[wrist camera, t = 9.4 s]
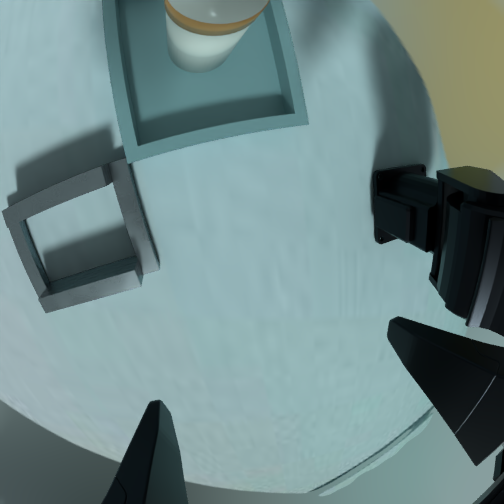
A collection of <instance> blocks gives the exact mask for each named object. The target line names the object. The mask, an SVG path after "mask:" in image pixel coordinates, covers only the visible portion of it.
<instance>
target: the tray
mask: <svg viewBox="0 0 504 504" xmlns="http://www.w3.org/2000/svg"><path fill="white" fill-rule="evenodd" d="M102 6H103V21H104V33H105V43H106V51H107V59H108V67H109V74H110V80H111V86H112V92H113V98H114V104H115V109H116V114H117V119H118V124H119V129H120V133H121V138H122V142H123V147H124V151H125V155H126V159H127V163H128V164H129V163H132V162H135V161H139V160H142V159H145V158H148V157H152V156H155V155H159V154H162V153H166V152H169V151H173V150H177V149H181V148H184V147H188V146H192V145H196V144H201V143H205V142H209V141H214V140H218V139H223V138H228V137H233V136H238V135H243V134H248V133H254V132H260V131H266V130H272V129H279V128H285V127H293V126H301V125H309V122H308V116H307V110H306V105H305V99H304V94H303V89H302V84H301V79H300V74H299V69H298V64H297V60H296V55H295V51H294V46H293V42H292V38H291V34H290V30H289V26H288V22H287V18H286V14H285V11H284V7H283V3H282V0H270V1H269V3H268V4H267V6H266V7H265V9H264V10H263V11H262V12H261V14H260V15H259V16H258V18H257V19H256V20H255V21H254V22H253V23H252V24H251V25H250V26H249V28H248V29H247V30H246V32H245V33H244V35H243V36H242V37H241V39H240V40H239V42H238V43H237V45H236V46H235V47H234V49H233V50H232V52H231V53H230V55H229V56H228V58H227V59H226V61H225V62H224V63H223V64H222V65H221V66H219V67H218V68H216V69H214V70H212V71H209V72H204V73H191V72H187V71H184V70H182V69H180V68H179V67H177V66H176V65H175V64H174V63H173V62H172V61H171V59H170V57H169V54H168V47H167V30H166V10H165V6H164V0H102Z"/></svg>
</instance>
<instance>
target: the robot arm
mask: <svg viewBox="0 0 504 504" xmlns="http://www.w3.org/2000/svg"><path fill="white" fill-rule="evenodd" d="M379 174H380V178H378V176H379ZM437 179H438V180H437ZM437 179H434V178H430V177H426V167H425V165H423V164H415V165H408V166H401V167H395V168H388V169H382V170H377V171H375V172H374V174H373V183H374V204H375V241H376V242H377V243H379V244H383V243H386V242H389V241H392V240H395V239H400V240H402V241H404V242H406V243H410V244H412V245H414V246H415V247H417V248H419V249H421V250H423V251H424V252H430V253H432V254H433V261H432V268H431V272H430V275H429V280H430V282H431V283H432V284H433V286H434V287H435V288H436V290H437V291H438V293H439V295H440V296H441V297H442V299H443V300H444V302H446V303H445V307H446V308H447V309H448V310H449V311H451V312H452V313H453V314H455V315H457V316H459V317H461V318H463V319H466V323H465V325H466V326H468V327H481V328H485V329H489V330H491V331H493V332H496V333H498V334H500V335H502V336H504V181H503V180H502V179H501V178H500V177H499V176H497V175H496V174H495V173H493V172H492V171H491V170H487V169H482V168H477V167H471V166H463V167H457V168H450V169H444V170H438V171H437ZM380 238H381V239H380ZM387 337H388V340H389V342H390V343H391V345H392V347H393V348H394V350H395V352H396V353H397V355H398V357H399V358H400V360H401V361H402V363H403V365H404V366H405V368H406V369H407V370H408V372H409V373H410V374H411V376H412V377H413V378H414V380H415V381H416V382H417V384H418V385H419V386H420V388H421V389H422V390H423V392H424V393H425V394H426V396H427V397H428V398H429V400H430V401H431V402H432V404H433V405H434V407H435V408H436V409H437V411H438V412H439V413H440V415H441V416H442V417H443V419H444V420H445V422H446V423H447V425H448V426H449V427H450V429H451V430H452V432H453V433H454V434H455V436H456V438H457V439H458V441H459V442H460V444H461V445H462V447H463V448H464V450H465V451H466V453H467V454H468V456H469V457H470V459H471V460H472V462H473V463H474V465H475V466H478V465H479V464H480V463H481V462H482V461H483V460H485V459H486V458H487V457H488V456H489V455H490V454H491V453H493V452H494V451H495V450H496V449H497V448H498V447H499V446H500V445H502V446H503V447H504V347H500V346H496V345H491V344H487V343H483V342H480V341H476V340H473V339H472V340H471V339H469V338H466V337H463V336H460V335H457V334H453V333H450V332H447V331H444V330H441V329H437V328H434V327H431V326H428V325H425V324H422V323H418V322H415V321H412V320H409V319H406V318H403V317H399V316H398V317H395V318H393V319H391V320H390V321H389V326H388V332H387ZM115 476H116V477H114V480H113V482H112V484H111V486H110V488H109V490H108V492H107V494H106V496H105V498H104V500H103V502H102V503H101V504H188V499H187V494H186V488H185V482H184V475H183V468H182V461H181V455H180V449H179V445H178V441H177V437H176V433H175V429H174V425H173V420H172V416H171V413H170V411H169V410H168V409H167V407H166V406H165V404H164V403H163V402H162V401H161V400H155V401H151V402H150V403H149V404H148V406H147V408H146V410H145V412H144V415H143V417H142V419H141V421H140V423H139V425H138V427H137V429H136V432H135V434H134V436H133V438H132V440H131V442H130V444H129V447H128V449H127V451H126V453H125V455H124V457H123V460H122V462H121V464H120V466H119V468H118V471H117V473H116V475H115ZM493 480H494V481H495V482H494V483H493V484H492V485H491V486H490V487H489V488H488V489H487V490H486V491H485V492H484V493H483V494H482V495H481V496H480V497H479V498H478V499H477V500H476V501H475V502H474V503H473V504H504V448H503V449H502V450H501V451H500V452H499V454H498V455H497V456H496V461H495V470H494V476H493Z"/></svg>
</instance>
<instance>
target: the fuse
mask: <svg viewBox="0 0 504 504" xmlns="http://www.w3.org/2000/svg"><path fill="white" fill-rule="evenodd" d="M269 1H270V0H164V6H165V10H166V30H167V47H168V54H169V57H170V59H171V61H172V62H173V63H174V64H175V65H176V66H177V67H179V68H180V69H182V70H184V71H187V72H191V73H204V72H209V71H212V70H214V69H216V68H218V67H219V66H221V65H222V64H223V63H224V62H225V61H226V59H227V58H228V56H229V55H230V53H231V52H232V50H233V49H234V47H235V46H236V45H237V43H238V42H239V40H240V39H241V37H242V36H243V35H244V33H245V32H246V30H247V29H248V28H249V26H250V25H251V24H252V23H253V22H254V21H255V20H256V19H257V18H258V16H259V15H260V14H261V12H262V11H263V10H264V9H265V7H266V6H267V4H268V3H269Z"/></svg>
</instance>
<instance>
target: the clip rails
mask: <svg viewBox="0 0 504 504" xmlns="http://www.w3.org/2000/svg"><path fill="white" fill-rule="evenodd" d="M112 182H113V185H114V188H115V192H116V195H117V199H118V202H119V205H120V209H121V212H122V215H123V218H124V221H125V224H126V228H127V231H128V234H129V236H130V239H131V242H132V245H133V248H134V251H135V254H136V256H133V257H130V258H126V259H123V260H120V261H116V262H113V263H110V264H106V265H103V266H100V267H97V268H94V269H90V270H87V271H84V272H81V273H78V274H75V275H72V276H68V277H65V278H62V279H59V280H56V281H53V282H49V280H48V278H47V276H46V273H45V271H44V269H43V267H42V264H41V262H40V260H39V257H38V255H37V253H36V250H35V248H34V245H33V242H32V240H31V237H30V234H29V232H28V229H27V226H26V223H25V219H27V218H29V217H31V216H33V215H35V214H38V213H40V212H42V211H44V210H47V209H49V208H51V207H54V206H56V205H58V204H61V203H63V202H66V201H68V200H70V199H73V198H76V197H78V196H81V195H83V194H86V193H89V192H91V191H94V190H97V189H99V188H102V187H105V186H107V185H109V184H110V183H112ZM2 213H3V217H4V220H5V223H6V226H7V228H8V227H9V230H10V233H11V236H12V238H13V241H14V243H15V246H16V249H17V251H18V254H19V256H20V258H21V261H22V263H23V265H24V268H25V270H26V272H27V274H28V276H29V279H30V281H31V283H32V285H33V287H34V289H35V291H36V293H37V295H38V297H39V299H38V300H39V302H40V303H41V305H42V307H43V309H44V311H45V313H48V312H52V311H56V310H59V309H63V308H67V307H70V306H74V305H77V304H81V303H85V302H88V301H92V300H95V299H99V298H103V297H106V296H110V295H113V294H117V293H121V292H124V291H128V290H131V289H135V288H138V287H141V285H142V280H143V275H144V274H148V273H151V272H155V271H158V270H160V264H159V261H158V258H157V255H156V252H155V249H154V246H153V243H152V240H151V237H150V234H149V231H148V228H147V225H146V221H145V218H144V215H143V212H142V208H141V205H140V201H139V198H138V194H137V191H136V187H135V183H134V180H133V176H132V172H131V168H130V164H128V163H127V159H126V158H123V159H120V160H117V161H114V162H112V163H109V164H106V165H103V166H100V167H97V168H94V169H92V170H89V171H87V172H84V173H81V174H79V175H77V176H74V177H72V178H69V179H67V180H65V181H62V182H60V183H58V184H55V185H53V186H51V187H49V188H46V189H44V190H42V191H40V192H38V193H36V194H34V195H32V196H30V197H28V198H26V199H24V200H22V201H20V202H18V203H16V204H14V205H12V206H10V207H8V208H6V209H5V210H3V211H2Z"/></svg>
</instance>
